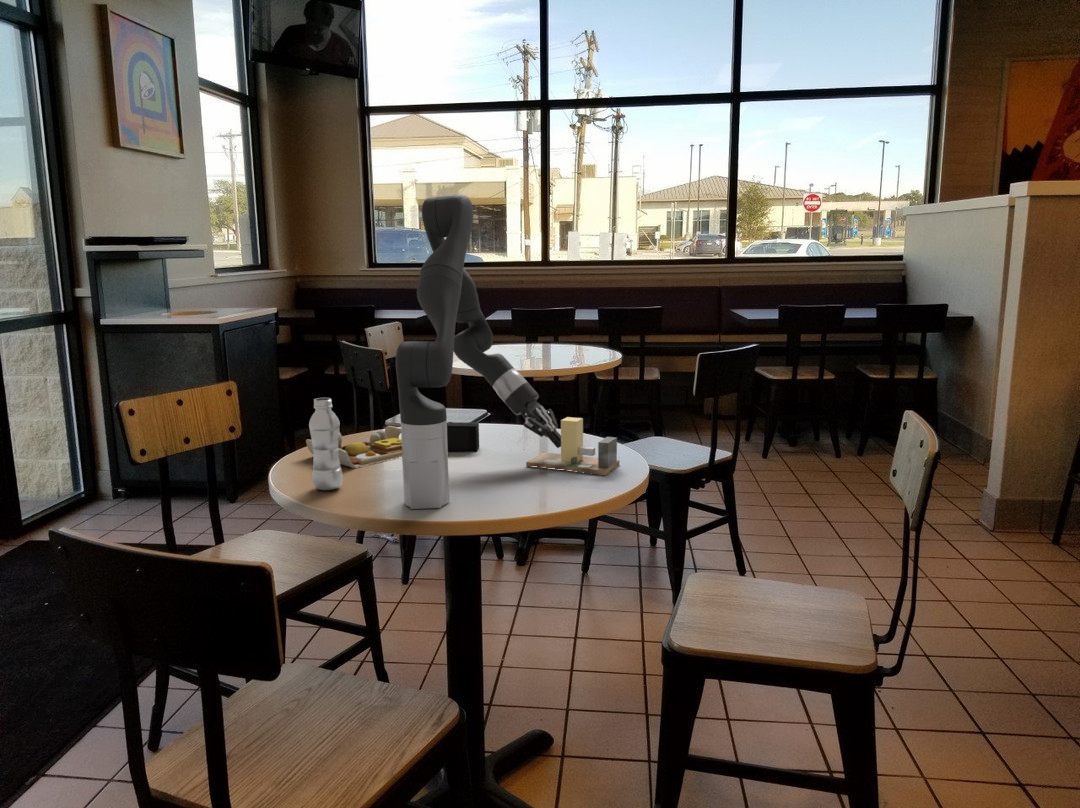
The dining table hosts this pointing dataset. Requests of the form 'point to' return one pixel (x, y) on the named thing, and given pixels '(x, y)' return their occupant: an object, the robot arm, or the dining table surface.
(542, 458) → the base
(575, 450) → the block
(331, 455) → the plastic bottle
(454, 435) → the digital camera
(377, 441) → the toy food set
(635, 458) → the dining table surface
